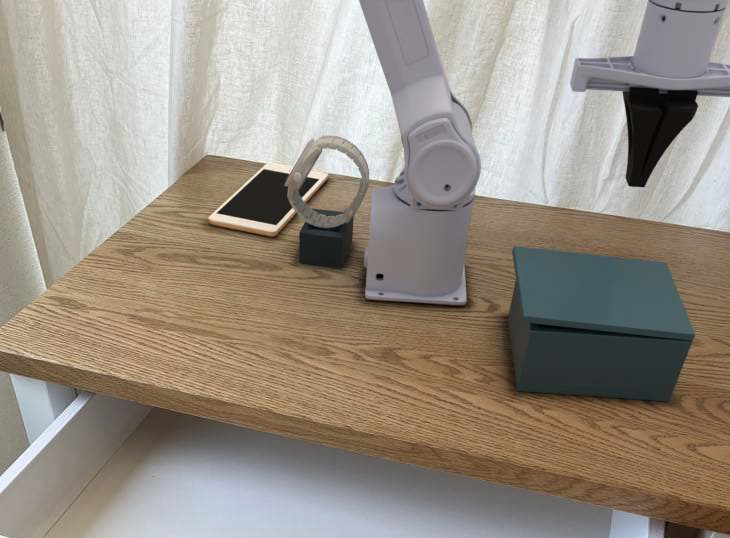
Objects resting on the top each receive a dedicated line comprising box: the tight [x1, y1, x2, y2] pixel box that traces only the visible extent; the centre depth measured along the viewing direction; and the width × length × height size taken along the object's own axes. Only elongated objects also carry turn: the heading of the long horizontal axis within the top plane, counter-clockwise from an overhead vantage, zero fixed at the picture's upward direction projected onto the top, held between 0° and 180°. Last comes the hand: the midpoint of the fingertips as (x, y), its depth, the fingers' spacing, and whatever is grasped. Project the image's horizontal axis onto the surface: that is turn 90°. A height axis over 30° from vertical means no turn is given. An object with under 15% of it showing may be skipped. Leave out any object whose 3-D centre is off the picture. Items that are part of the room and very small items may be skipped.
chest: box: [507, 280, 693, 402], centre depth 70 cm, size 12×11×6 cm
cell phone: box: [207, 162, 329, 237], centre depth 92 cm, size 8×16×1 cm, turn 159°
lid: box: [511, 245, 696, 342], centre depth 67 cm, size 13×11×1 cm
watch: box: [285, 135, 371, 269], centre depth 80 cm, size 6×8×11 cm
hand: (634, 182), depth 72 cm, fingers closed
